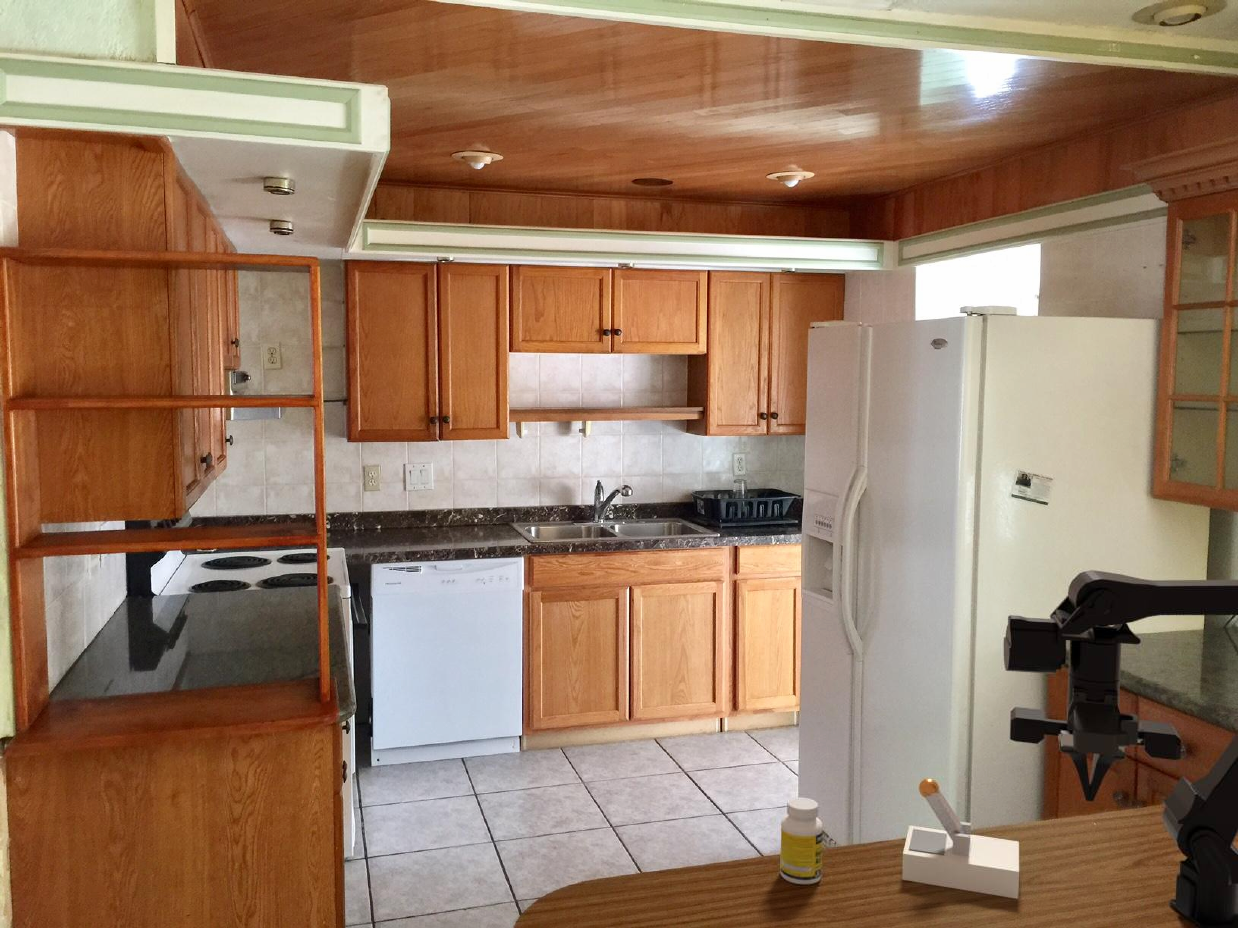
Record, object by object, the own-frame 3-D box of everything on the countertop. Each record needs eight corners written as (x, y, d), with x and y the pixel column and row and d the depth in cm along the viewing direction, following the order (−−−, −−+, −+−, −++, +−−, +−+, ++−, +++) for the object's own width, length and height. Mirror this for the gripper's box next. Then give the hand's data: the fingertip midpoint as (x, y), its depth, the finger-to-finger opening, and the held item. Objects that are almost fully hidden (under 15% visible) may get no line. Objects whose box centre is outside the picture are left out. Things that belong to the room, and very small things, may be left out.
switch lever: (973, 835, 136) (932, 772, 137) (972, 844, 133) (931, 779, 134) (956, 843, 136) (915, 780, 138) (955, 852, 134) (914, 787, 135)
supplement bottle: (822, 887, 131) (823, 813, 131) (779, 883, 133) (780, 809, 132) (822, 867, 137) (823, 796, 136) (781, 864, 138) (781, 793, 137)
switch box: (1017, 866, 137) (1019, 823, 136) (1018, 898, 129) (1019, 852, 128) (908, 849, 142) (909, 807, 141) (902, 879, 134) (903, 834, 133)
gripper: (1011, 686, 121) (1007, 814, 123) (1191, 703, 115) (1185, 839, 116) (1012, 661, 132) (1008, 780, 133) (1176, 676, 125) (1171, 801, 126)
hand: (1089, 800), depth 127 cm, fingers closed
